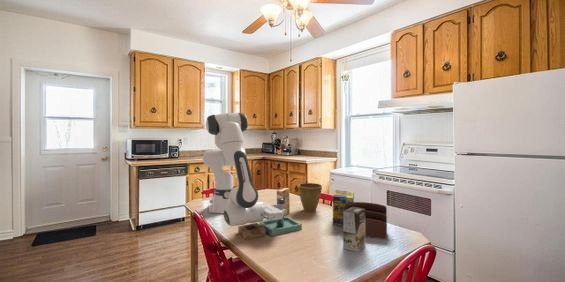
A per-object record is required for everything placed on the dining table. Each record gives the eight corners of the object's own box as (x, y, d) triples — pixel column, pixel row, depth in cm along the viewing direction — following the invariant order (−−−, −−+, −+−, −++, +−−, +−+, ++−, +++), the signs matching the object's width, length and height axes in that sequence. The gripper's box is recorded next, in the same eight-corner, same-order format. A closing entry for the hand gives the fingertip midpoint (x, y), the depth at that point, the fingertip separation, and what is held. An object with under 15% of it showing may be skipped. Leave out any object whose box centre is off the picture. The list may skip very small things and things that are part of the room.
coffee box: (357, 252, 107) (357, 213, 106) (342, 248, 111) (342, 210, 110) (365, 245, 114) (365, 208, 113) (351, 241, 118) (352, 206, 117)
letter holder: (345, 226, 136) (345, 200, 135) (386, 232, 129) (386, 203, 128) (342, 233, 127) (343, 205, 126) (386, 239, 120) (387, 209, 119)
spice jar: (275, 225, 135) (275, 198, 134) (281, 223, 137) (282, 197, 136) (278, 227, 131) (279, 200, 131) (285, 226, 133) (286, 199, 133)
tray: (259, 226, 136) (259, 221, 136) (287, 221, 144) (287, 216, 144) (272, 235, 124) (272, 230, 124) (301, 229, 132) (301, 224, 132)
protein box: (332, 225, 138) (332, 196, 137) (335, 216, 153) (335, 190, 152) (352, 227, 135) (353, 197, 134) (353, 218, 150) (354, 191, 149)
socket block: (238, 232, 128) (238, 226, 128) (256, 228, 133) (256, 222, 133) (245, 239, 119) (245, 233, 119) (265, 235, 124) (265, 229, 124)
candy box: (282, 217, 151) (282, 191, 150) (276, 216, 153) (276, 190, 152) (289, 213, 159) (289, 188, 158) (283, 212, 161) (283, 187, 160)
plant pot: (295, 212, 159) (295, 186, 159) (301, 206, 174) (301, 182, 173) (320, 215, 155) (320, 188, 154) (323, 208, 169) (323, 183, 169)
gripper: (266, 211, 118) (292, 207, 125) (249, 201, 136) (272, 198, 143) (266, 225, 119) (292, 220, 125) (249, 213, 136) (272, 209, 143)
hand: (281, 208), depth 134 cm, fingers open, 8 cm apart
